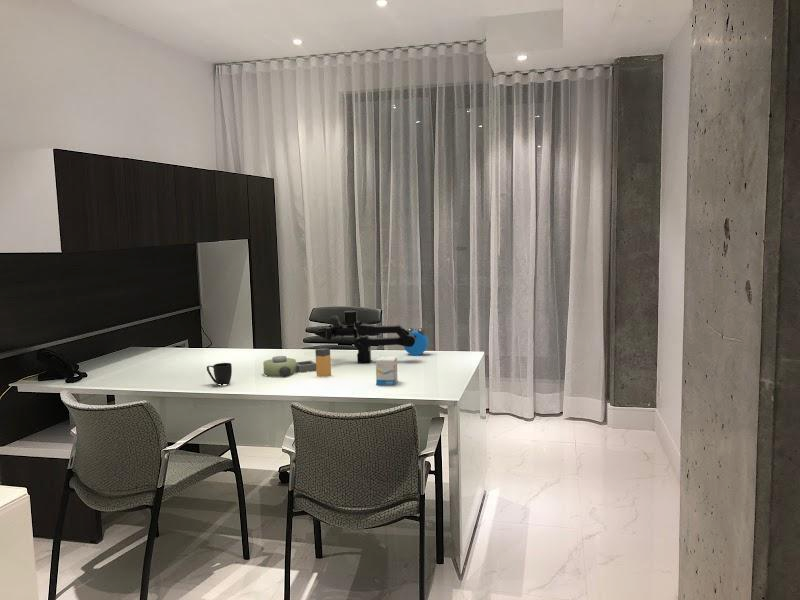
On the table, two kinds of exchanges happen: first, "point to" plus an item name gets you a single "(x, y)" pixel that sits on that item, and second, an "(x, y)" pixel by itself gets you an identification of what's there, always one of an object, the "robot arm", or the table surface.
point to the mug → (221, 373)
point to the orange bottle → (323, 362)
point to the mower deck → (286, 366)
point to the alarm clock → (418, 342)
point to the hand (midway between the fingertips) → (316, 332)
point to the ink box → (386, 370)
